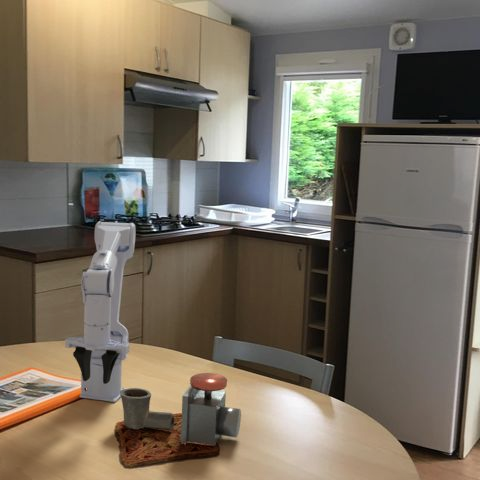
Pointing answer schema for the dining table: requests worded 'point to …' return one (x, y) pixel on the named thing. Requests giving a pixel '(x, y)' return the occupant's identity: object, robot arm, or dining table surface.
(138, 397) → the pipe
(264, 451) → the dining table surface
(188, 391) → the valve
